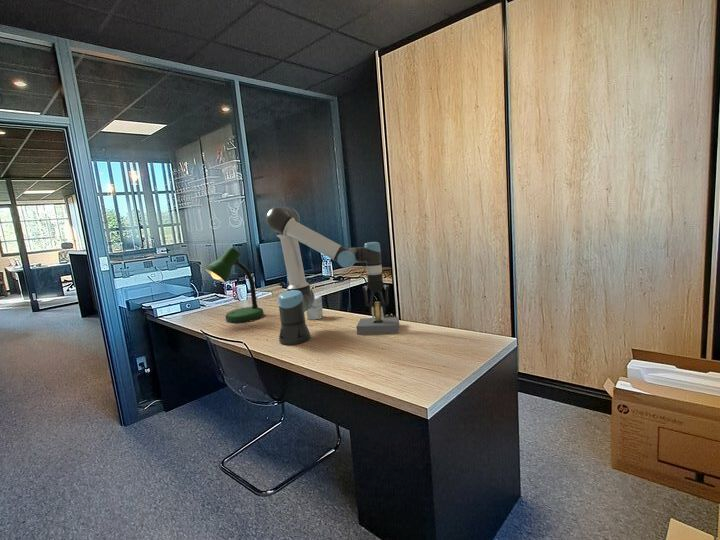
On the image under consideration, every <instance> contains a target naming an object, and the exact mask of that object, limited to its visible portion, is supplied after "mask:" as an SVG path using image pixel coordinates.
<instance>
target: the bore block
mask: <svg viewBox="0 0 720 540" xmlns="http://www.w3.org/2000/svg"><path fill="white" fill-rule="evenodd" d="M399 330H400V317H399V316H391V317H389V316H388V317H384V319H383V320H382V317H381V323H375V317H374V320H372V317H366V318H364V317H363V318H360V319H359V321H358V323H357V325H356V334H357V335H377V334H378V335H380V334H379V333H387V334H399Z"/></svg>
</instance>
